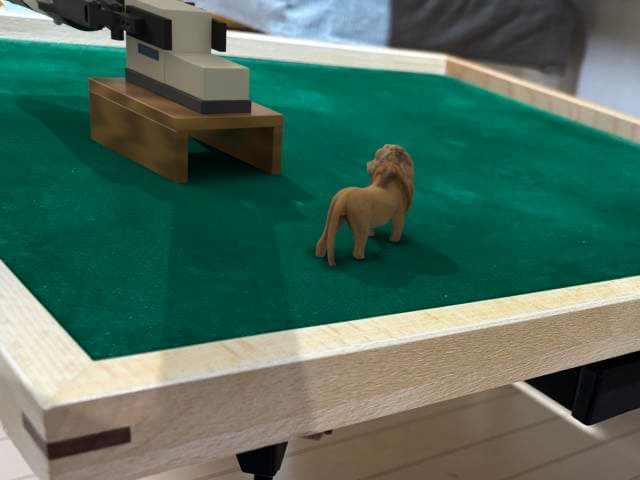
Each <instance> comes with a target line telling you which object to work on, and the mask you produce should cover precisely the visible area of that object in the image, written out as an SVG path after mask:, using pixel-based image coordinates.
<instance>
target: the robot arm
mask: <svg viewBox="0 0 640 480" xmlns="http://www.w3.org/2000/svg"><path fill="white" fill-rule="evenodd" d="M4 1H5V2H9V3H10V4H12V5H16V6H21V7H22V8H26V9H28V10H30V11H33V12H35V13H38V14H41V15H43V16H45V17H47V18H50V19H52V21H53V24H54V25H56V26H61V25H65V26H67V27H71V28H73V29H75V30H78V31H80V32H81V31H82V32H86V33H90V32H99V31H103V29H105V28H106V29H107V30H109V31H110V40H113V41H118V42H123V41H125V34H126V33H127V35H128V36H131V37H133V38H136V39H138V40H141V41H143V42H146V43H148V44H150V45H153V46H155V47H158V48H160V49H163V50H170V51H172V20H170V19H168V18H165V17H162V16H159V15H157V14H154V13H151V12H149V11H146V10H143V9H141V8H138V7H135V6H133V5H126V12H125V0H4ZM184 3H186V4H189V5H192V6H195V7H196V2H193V1H184ZM199 8H200V9H203V10H205V9H204V8H203V7H199ZM227 25H228V24H227V22H224V21H221V20H218V19H216V18H213V17H212V24H211V50H213V51H216V52H219V53H227V36H228V35H227V31H228V30H227V28H228V26H227Z"/></svg>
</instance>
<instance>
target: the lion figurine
mask: <svg viewBox="0 0 640 480" xmlns="http://www.w3.org/2000/svg"><path fill="white" fill-rule="evenodd" d="M414 169H415V167H414V161H413V160H412V157H411V155H410V154H409V153H408V151H406V149H405V148H404V147H402V146H400V145H398V144H389V143H386V144H384V145H383V146H382V148H379V149H377V151H376V152H375V153H374V159H373V160H370V161H367V163H366V171H367V172H366V173H367V174H368V175H369V176H370V180H369V185H368V186H366V187H358V186H348V187H344V188H342V189H340V190H339V191H338V192H337V193H335V195H334V196H333V197H332V200H331V202H330V205H329V209H328V212H327V217H326V222H325V227H324V230H323V232H322V235H321V237H320V238H319V239H318V242H317V243H316V246H315V247H316V248H315V256H316V257H319V258H324V257H325V256H326V251H327V260H328V261H327V262H328V264H329V266H330V267H334V266H337V264H336V260H335V240H336V234H337V233H338V232H339V230H340V229H341V228H342V227H343V225H344V224H345V223H346V224H347V226H348V228H349V229H350V232H351V235H352V239H353V249H352V256H353V257H354V259H357V260H359V259H360V260H362V259H363V260H364V259H365V248H366V244H367V241H368V237H375V236H376V228H379V227H381V226H384V225H386V224H387V223H390V227H391V228H390V229H391V230H390V231H391V232H390V236H389V241H390V242H399V241H400V239H401V238H402V232H403V229H404V225H405V214H406V213H407V212H408V211H409V210H411V209H412V206H413V197H414V196H415V180H414V178H415V172H414Z"/></svg>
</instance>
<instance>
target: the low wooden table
mask: <svg viewBox="0 0 640 480" xmlns="http://www.w3.org/2000/svg"><path fill="white" fill-rule="evenodd" d="M87 81H88V104H89V121H90V122H89V125H90V138H91V140H92V141H94V142H96V143H98V144H100V145H102V146H104V147H106V148H108V149H110V150H112V151H113V152H116V153H118V154H119V155H122V156H123V157H125V158H127V159H129V160H131V161H133V162H135V163H137V164H138V165H141V166H143V167H144V168H147V169H148V170H150V171H153V172H154V173H156V174H158V175H159V176H162V177H164V178H165V179H168V180H169V181H171V182H173V183H175V184H183V183H188V182H189V137H192V138H194V139H195V140H197V141H200V142H201V143H204V144H206V145H209V146H211V147H212V148H215V149H216V150H219V151H220V152H223V153H224V154H228V155H229V156H232V157H234V158H236V159H238V160H240V161H243V162H244V163H246V164H249V165H251V166H252V167H255V168H257V169H259V170H261V171H263V172H266V173H268V174H269V175H281V174H282V161H283V160H282V157H283V138H284V122H285V121H284V119H285V115H284V114H283V113H280V112H278V111H275V110H274V109H271V108H268V107H266V106H263V105H262V104H259V103H256V102H254V101H252V106H251V113H219V114H201V113H198V112H196V111H194V110H192V109H189V108H187V107H185V106H183V105H180V104H178V103H176V102H174V101H171V100H169V99H167V98H165V97H163V96H160V95H158V94H156V93H154V92H151V91H149V90H147V89H145V88H142V87H140V86H138V85H136V84H133V83H131V82H129V81H127V80H125V77H88V80H87Z"/></svg>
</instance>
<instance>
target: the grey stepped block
mask: <svg viewBox="0 0 640 480" xmlns="http://www.w3.org/2000/svg"><path fill="white" fill-rule="evenodd" d="M126 5H133V6H135V7H138V8H141V9H143V10H146V11H149V12H151V13H154V14H157V15H159V16H162V17H165V18H168V19H170V20H172V51H170V50H163V49H160V48H158V47H155V46H153V45H150V44H148V43H146V42H143V41H141V40H138V39H136V38H133V37H131V36H128V35H127V33H126V32H125V58H126V67H124V78H125V80H127V81H129V82H131V83H133V84H136V85H138V86H140V87H142V88H145V89H147V90H149V91H151V92H154V93H156V94H158V95H160V96H163V97H165V98H167V99H169V100H171V101H174V102H176V103H178V104H180V105H183V106H185V107H187V108H189V109H192V110H194V111H196V112H198V113H201V114H219V113H251V106H252V102H253V101H252V100H251V99H250V97H249V95H250V68H249V67H247V66H244V65H241V64H239V63H237V62H234V61H231V60H230V59H226V58H223V57H221V56H219V55H216V54H213V53H212V49H211V24H212V18H213V15H212V14H213V13H212V12H211V11H208V10H206V9H204V8H203V9H204V10H203V9H200V8H201V7H198V6H196V5H195V6H192V5H189V4H186V3H185V2H183V1H181V0H125V12H126Z"/></svg>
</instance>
